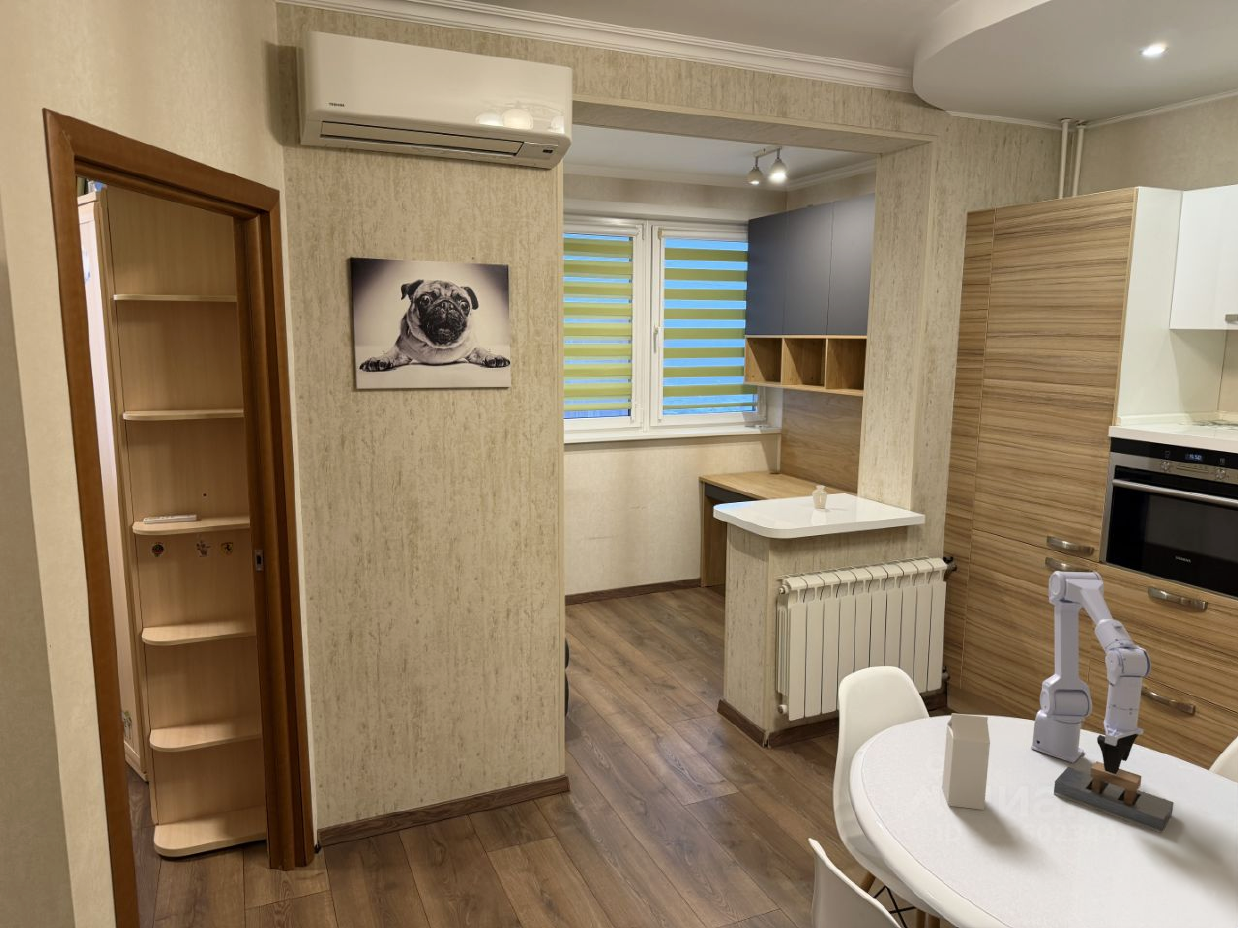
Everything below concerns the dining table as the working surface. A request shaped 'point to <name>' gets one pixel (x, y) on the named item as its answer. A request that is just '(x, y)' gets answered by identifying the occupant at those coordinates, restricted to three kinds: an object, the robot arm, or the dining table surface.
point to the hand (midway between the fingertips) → (1115, 765)
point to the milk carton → (966, 761)
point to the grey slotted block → (1114, 800)
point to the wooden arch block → (1115, 781)
